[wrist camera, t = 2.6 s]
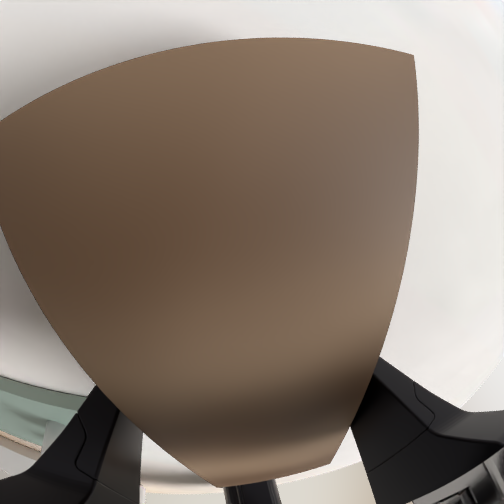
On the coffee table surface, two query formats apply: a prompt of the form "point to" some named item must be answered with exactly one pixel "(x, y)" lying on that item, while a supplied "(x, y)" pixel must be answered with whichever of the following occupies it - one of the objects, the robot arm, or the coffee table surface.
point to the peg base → (35, 412)
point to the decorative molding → (27, 460)
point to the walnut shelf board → (222, 239)
